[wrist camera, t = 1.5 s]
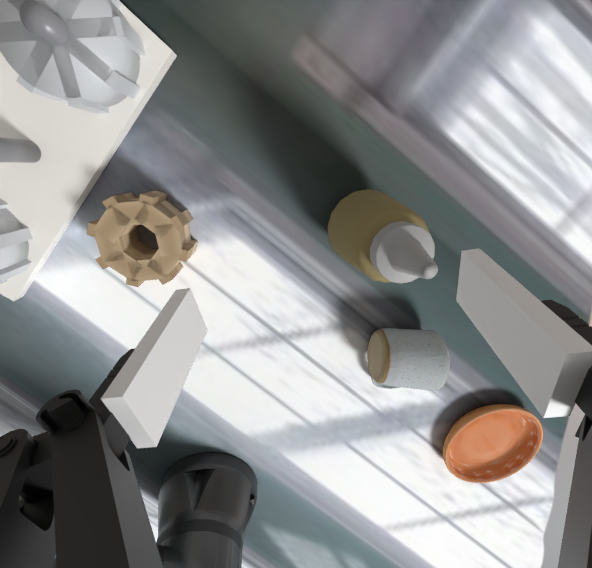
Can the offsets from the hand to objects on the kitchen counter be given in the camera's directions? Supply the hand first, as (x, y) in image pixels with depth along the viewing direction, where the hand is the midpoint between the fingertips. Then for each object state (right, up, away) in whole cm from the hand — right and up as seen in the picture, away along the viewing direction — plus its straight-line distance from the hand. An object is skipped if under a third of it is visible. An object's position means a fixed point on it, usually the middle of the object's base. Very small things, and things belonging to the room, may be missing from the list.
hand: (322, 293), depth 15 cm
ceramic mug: (+13, -9, +29) cm, 33 cm away
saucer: (+30, -25, +37) cm, 54 cm away
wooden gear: (-18, +6, +20) cm, 27 cm away
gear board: (-27, +14, +16) cm, 34 cm away
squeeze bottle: (+6, +8, +22) cm, 24 cm away
